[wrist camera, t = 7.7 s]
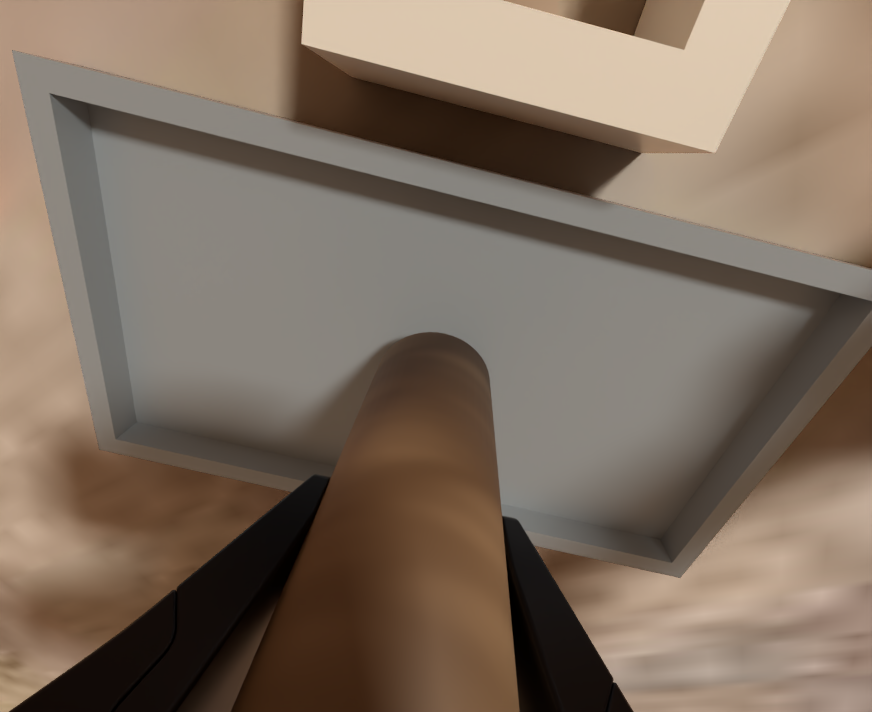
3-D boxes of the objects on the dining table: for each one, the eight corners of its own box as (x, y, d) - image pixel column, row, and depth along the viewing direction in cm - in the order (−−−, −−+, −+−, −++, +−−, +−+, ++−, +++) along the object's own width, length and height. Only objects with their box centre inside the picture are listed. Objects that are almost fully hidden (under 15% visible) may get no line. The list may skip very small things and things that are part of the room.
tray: (868, 267, 13) (923, 283, 11) (662, 542, 19) (680, 577, 18) (72, 63, 12) (11, 49, 11) (131, 424, 18) (99, 449, 17)
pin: (504, 347, 13) (653, 1172, 3) (472, 440, 15) (480, 1143, 4) (386, 319, 13) (16, 1064, 2) (369, 416, 15) (114, 1084, 4)
